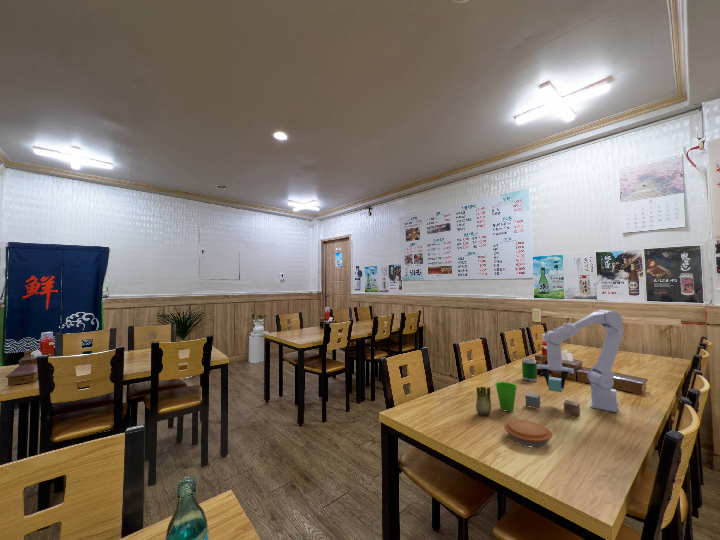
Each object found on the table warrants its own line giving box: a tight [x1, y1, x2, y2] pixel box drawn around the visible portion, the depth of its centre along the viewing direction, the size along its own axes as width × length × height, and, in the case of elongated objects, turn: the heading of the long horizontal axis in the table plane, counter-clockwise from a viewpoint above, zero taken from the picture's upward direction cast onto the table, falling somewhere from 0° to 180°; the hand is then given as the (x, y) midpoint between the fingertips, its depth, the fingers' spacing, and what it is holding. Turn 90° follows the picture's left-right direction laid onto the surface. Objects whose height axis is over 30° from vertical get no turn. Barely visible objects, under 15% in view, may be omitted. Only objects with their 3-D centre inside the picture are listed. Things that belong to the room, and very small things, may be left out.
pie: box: [503, 419, 553, 448], centre depth 113 cm, size 15×16×5 cm
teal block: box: [547, 376, 564, 393], centre depth 145 cm, size 5×5×5 cm
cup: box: [494, 381, 518, 412], centre depth 141 cm, size 9×9×11 cm
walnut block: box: [563, 399, 581, 418], centre depth 134 cm, size 5×5×5 cm
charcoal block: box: [524, 392, 541, 409], centre depth 144 cm, size 5×5×5 cm
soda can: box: [521, 357, 538, 382], centre depth 184 cm, size 8×8×12 cm
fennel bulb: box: [475, 386, 492, 416], centre depth 135 cm, size 6×5×12 cm
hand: (555, 386), depth 145 cm, fingers closed on teal block, 5 cm apart
